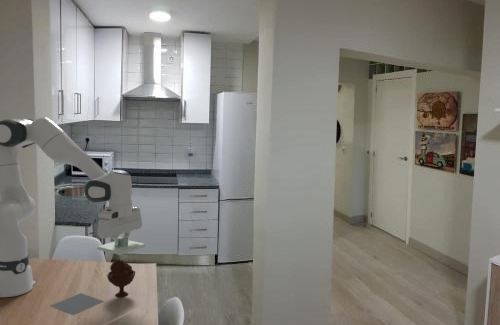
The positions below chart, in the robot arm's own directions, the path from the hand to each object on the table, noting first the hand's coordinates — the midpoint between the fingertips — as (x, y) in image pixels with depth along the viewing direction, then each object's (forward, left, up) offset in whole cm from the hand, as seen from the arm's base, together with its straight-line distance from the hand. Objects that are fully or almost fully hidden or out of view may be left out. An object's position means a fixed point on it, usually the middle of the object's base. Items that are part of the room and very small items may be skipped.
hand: (121, 243), depth 169 cm
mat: (-8, -15, -22) cm, 28 cm away
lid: (0, 0, -2) cm, 2 cm away
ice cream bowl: (0, 0, -22) cm, 22 cm away
